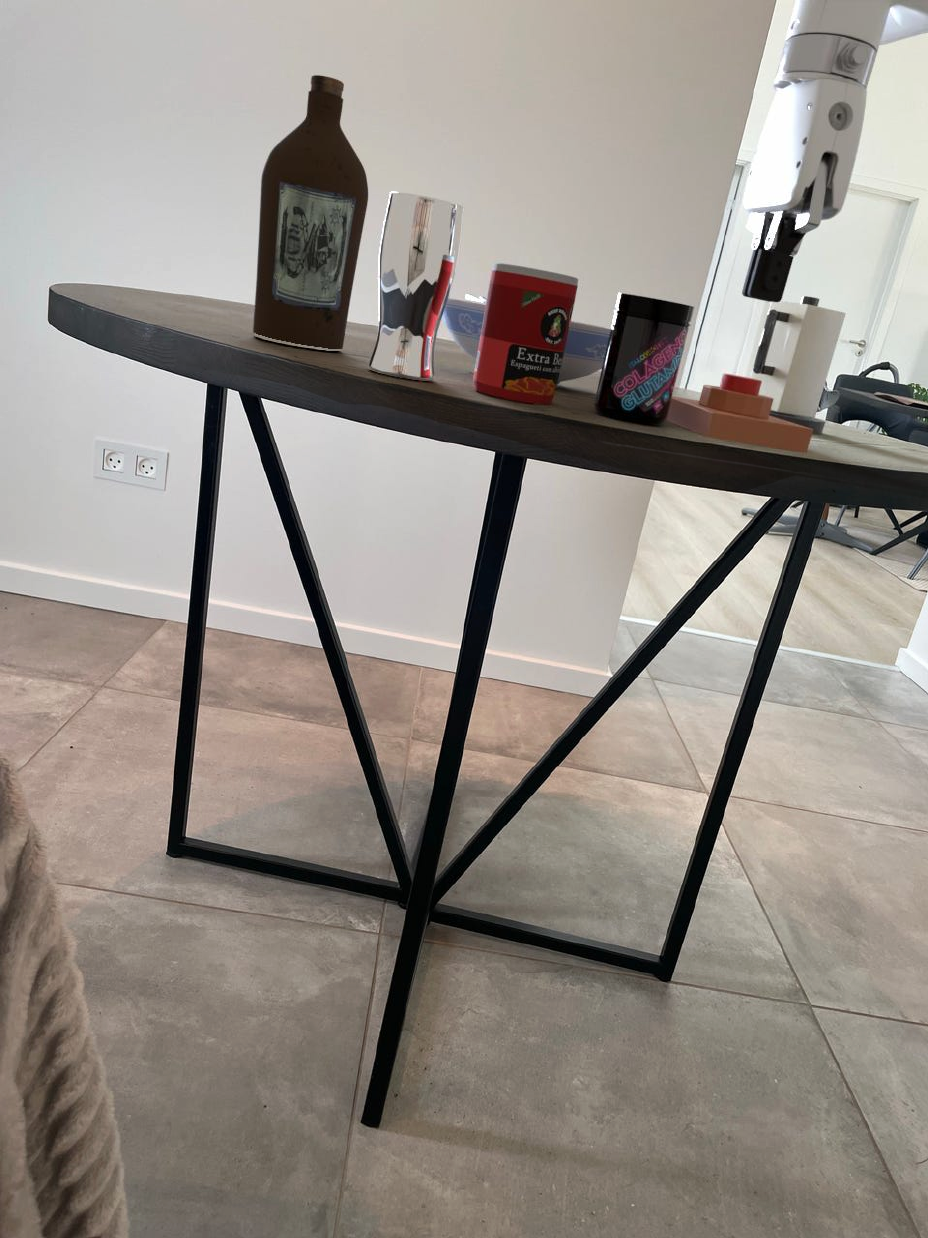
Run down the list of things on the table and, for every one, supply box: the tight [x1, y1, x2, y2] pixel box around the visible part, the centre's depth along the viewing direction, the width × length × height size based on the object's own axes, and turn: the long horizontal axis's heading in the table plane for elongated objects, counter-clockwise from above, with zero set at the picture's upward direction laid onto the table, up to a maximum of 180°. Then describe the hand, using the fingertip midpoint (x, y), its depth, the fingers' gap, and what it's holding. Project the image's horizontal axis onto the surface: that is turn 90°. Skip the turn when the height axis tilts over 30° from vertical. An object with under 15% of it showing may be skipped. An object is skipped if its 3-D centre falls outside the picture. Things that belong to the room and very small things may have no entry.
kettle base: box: [769, 410, 826, 436], centre depth 111 cm, size 11×11×2 cm
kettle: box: [749, 295, 846, 418], centre depth 109 cm, size 11×6×13 cm, turn 115°
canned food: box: [472, 262, 579, 405], centre depth 83 cm, size 8×8×11 cm
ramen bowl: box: [442, 293, 611, 385], centre depth 105 cm, size 25×23×8 cm
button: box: [719, 372, 762, 396], centre depth 87 cm, size 4×4×2 cm
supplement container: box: [593, 292, 695, 428], centre depth 82 cm, size 7×7×10 cm
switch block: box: [666, 384, 813, 454], centre depth 88 cm, size 10×12×4 cm
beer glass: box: [368, 191, 465, 383], centre depth 83 cm, size 7×7×15 cm
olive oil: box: [252, 74, 369, 350], centre depth 94 cm, size 11×11×25 cm
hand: (760, 298), depth 84 cm, fingers closed
